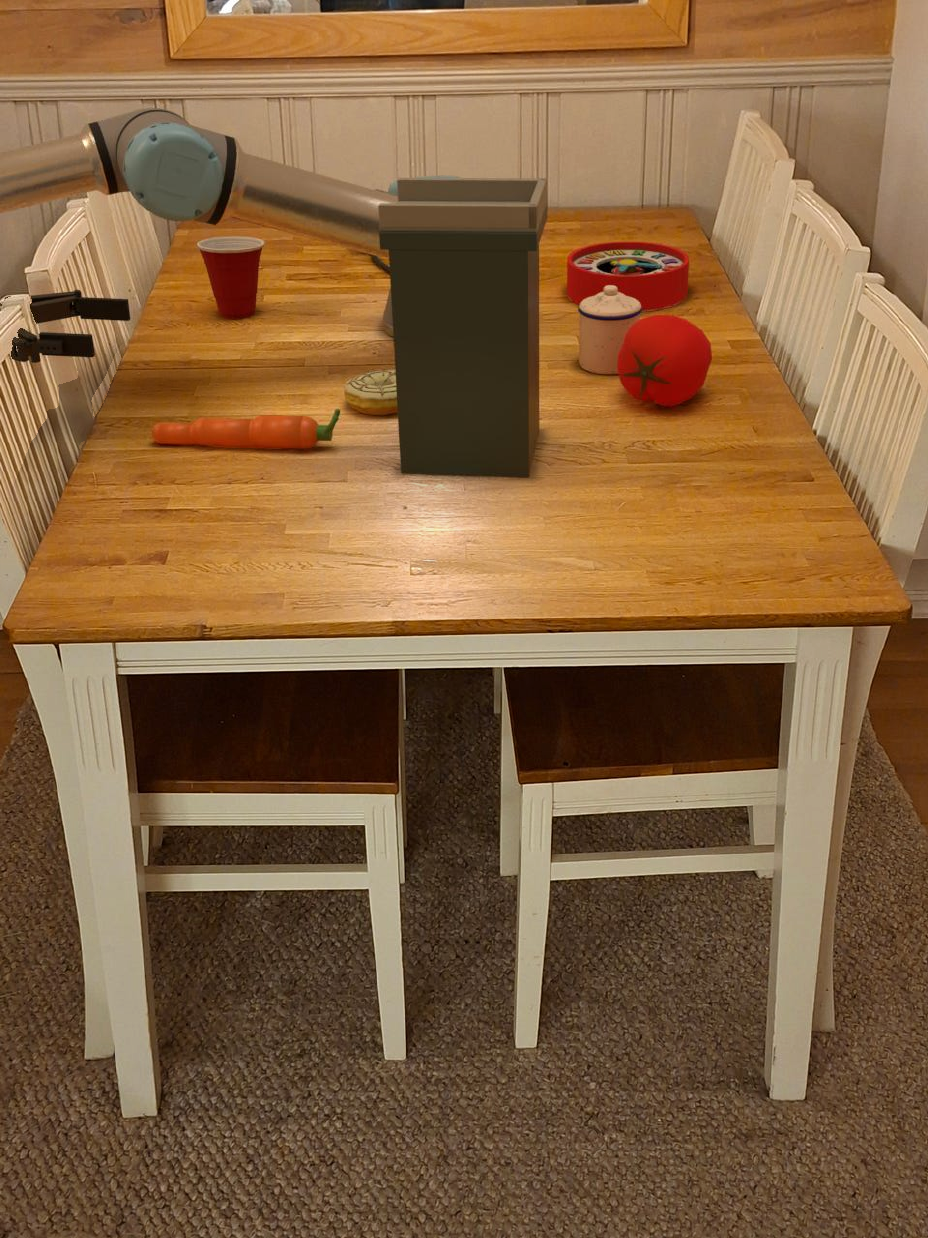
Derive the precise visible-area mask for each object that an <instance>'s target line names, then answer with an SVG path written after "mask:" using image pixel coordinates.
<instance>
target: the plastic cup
mask: <svg viewBox="0 0 928 1238" xmlns="http://www.w3.org/2000/svg"><path fill="white" fill-rule="evenodd" d="M196 247H197V249H198V250H199V252H200V253H201V258H202V259H203V264H204V266H205V269H206V272H207V276H208V279H209V280H208V281H209V284H210V287H211V290H212V293H213V297H214V299H215V302H216V307H217V310H218V313H219V315H220V317H222V318H224V319H228V320H240V319H246V318H250V317H252V316H254V315H255V314H256V310H257V294H258V288H259V285H258V284H259V271H260V262H261V255H262V251H263V248H264V247H265V240H263V239H260V238H257V237H253V236H237V235H235V236H217V237H216V236H215V237H210V238H206V239H202V240H199V241H198V242H197V243H196Z"/></svg>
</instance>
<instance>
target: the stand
mask: <svg viewBox="0 0 928 1238" xmlns="http://www.w3.org/2000/svg"><path fill="white" fill-rule="evenodd" d="M396 181H397V187H398V202H397V203H380V204H379V205H378V209H379V226H380V232H379V242H380V250H389V259H388V263H389V265H388V266H389V267H390V272H389V281H390V287H391V301H392V319H393V351H394V352H393V353H394V355H393V356H394V370H395V373H396V391H397V409H398V413H397V423H398V426H397V427H398V442H399V458H400V459H399V461H400V473H401V474H413V475H414V474H415V475H444V476H445V475H446V476H475V477H476V476H479V477H506V478H508V477H509V478H530V474H531V471H532V467H533V462H534V458H535V454H536V449H537V445H538V440H539V436H540V242H541V239H542V236H543V234H544V233H543V232H544V230H545V226H546V224H547V220H548V178H540V177H539V178H537V177H536V178H530V177H528V178H527V177H525V178H524V177H523V178H521V177H515V178H514V177H513V178H512V177H511V178H510V177H502V178H501V177H460V178H414V177H398V178H397V180H396Z"/></svg>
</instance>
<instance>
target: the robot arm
mask: <svg viewBox="0 0 928 1238" xmlns="http://www.w3.org/2000/svg"><path fill="white" fill-rule="evenodd" d="M413 178H461V177H460V176H456V175H424V176H413ZM95 191H97V192H100V193H101V194H103V195H105V196H111V195H114V194H115V195H116V194H120V193H129V192H130V194H131V195H132V197H133V198H134V200H136V202H137V204H139V206H142V207H143V208H144V209H145V210H146V211H147V212H150V213H151V214H152V215H154V216H155V217H158V218H161V219H163V220H165V221H171V222H188V221H192V220H193V221H195V222H196V221H197V222H201V223H204V224H209V225H212V226H216V227H217V226H219V225H221V224H223V223H224V222H225V221H227V220H229V219H235V220H238V221H241V222H246V223H250V224H255V225H258V226H262V227H265V228H270V229H272V230H277V231H281V232H284V233H288V234H292V235H296V236H300V237H304V238H307V239H311V240H314V241H318V242H323V243H326V244H330V245H334V246H338V247H341V248H345V249H349V250H353V251H356V252H361V253H364V254H368V255H370V257H371V259H372V261H373V263H375V264H376V265H377V266H378V267H379V268H381V269H383V270H384V271H386V272H388V273H390V266H389V265H387V264H385V263H384V262H382V260H380V259H379V258H383V259H386V260H389V250H380V242H379V232H380V226H379V209H378V205H379V204H380V203H397V202H398V187H397V180H396V181H393V182H391V184H389V187H388V189H387V192H388V194H387V193H383V192H380V191H376V189H373V188H369V187H366V186H362V185H358V184H355V183H351V182H348V181H344V180H340V179H337V178H335V177H331V176H328V175H324V174H320V173H316V172H313V171H309V170H306V169H302V168H299V167H295V166H292V165H288V164H285V163H282V162H277V161H274V160H270V159H266V158H262V157H260V156H257V155H254V154H249V153H247V152H244V150H243V149H242V146H241V145H240V143H239V142H238V140H237V138H235V137H233V136H229V135H226V134H222V133H220V132H217V131H212V130H209V129H207V128H202V127H199V126H195V125H192V124H190V122H189V121H187V120H186V119H185V118H183V117H182V116H181V115H180V114H178V113H176V112H174V111H171V110H170V109H169V110H168V109H166V108H160V107H149V108H140V109H137V110H133V111H129V112H126V113H122V114H119V115H115V116H111V117H108V118H105V119H101V120H97V121H94V122H88V123H85V124H84V125H83V127H82V129H81V131H80V132H79V133H77V134H74V135H69V136H64V137H61V138H56V139H52V140H47V141H44V142H39V143H35V144H32V145H31V144H30V145H27V146H21V147H17V148H14V149H10V150H5V151H1V152H0V214H3V213H8V212H12V211H17V210H20V209H24V208H28V207H32V206H36V205H42V204H45V203H49V202H53V201H59V200H61V199H66V198H70V197H74V196H78V195H83V194H87V193H90V192H95ZM30 296H31V299H32V303H31V304H30V309H31V312H32V314H33V317H34V320H35V322H36V324H35V325H37V324H43V323H50V322H55V321H60V320H65V319H70V318H76V317H79V318H80V319H81V320H97V321H119V322H129V321H131V312H130V311H131V310H130V304H129V299H128V298H113V297H112V298H111V297H91V296H90V297H87V296H86V297H85V296H83V294H82V291H81V290H80V289H74V290H73V291H72V290H71V291H62V292H53V293H52V292H51V293H43V294H34V295H33V294H32V295H30ZM8 297H11V295H7V296H5V297H4V300H5V299H6V298H8ZM1 303H2V302H0V306H2V304H1ZM382 326H383V331H384V332H385V333H386V334H387V335H389V336H391V337H393V319H392V301H391V286H390V287H389V291H388V295H387V299H386V303H385V307H384V310H383V316H382ZM17 333H18V337H19V338H16V337H14V338H13V340H12V345H13V347H12V351H11V357H12V359H11V360H13V361H17V362H20V363H26V362H29V361H30V363H33V364H37V363H40V362H41V356H53V357H72V358H73V357H75V358H94V357H95V356H96V352H95V345H94V338H93V334H92V333H74V332H73V333H69V332H51V331H50V332H49V331H47V332H46V331H40V332H39V333H38V335H36V334H34V333H32V332H31V331H28V329H27V330H25V329H23V328H20V329H19V330H18V332H17ZM393 338H394V337H393ZM16 346H17V348H16Z"/></svg>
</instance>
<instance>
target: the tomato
mask: <svg viewBox="0 0 928 1238" xmlns="http://www.w3.org/2000/svg"><path fill="white" fill-rule="evenodd" d="M712 360H713V352H712V345H711V342H710V340H709V338H708V337H707V335H706V334H705V332H704V330H702V329H701V328H699V327H698V326H697V325H696V324H693V322H690V321H689V320H687V319H686V318H684V317H680V316H676V315H673V314H653V315H649V316H646V317H642V318H640V320H639V321H637V322H635V323H634V324H633V325H632V326H631V327H630V328H629V330H628V332H627V334H626V336H625V339H624V342H623V345H622V348H621V350H620V352H619V354H618V362H617V368H618V373H619V374H618V376H619V381H620V384H621V385H622V387H623V388H624V389H625V390H626V392H627V394H629V395H630V396H631V397H632V399H634V400H638V401H640V402H643V403H656V404H657V405H659V406H665V407H671V408H672V407H673V408H674V407H676V406H677V405H680V404H682V403H685V402H686V401H689V400H691V399H692V398H693V397H694V396H696V394H697V393H698V392H699V391H700V390H701V389H702V388H703V386H704V384H705V381H706V378H707V375H708V372H709V370H710V369H709V368H710V366H711V362H712Z"/></svg>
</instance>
